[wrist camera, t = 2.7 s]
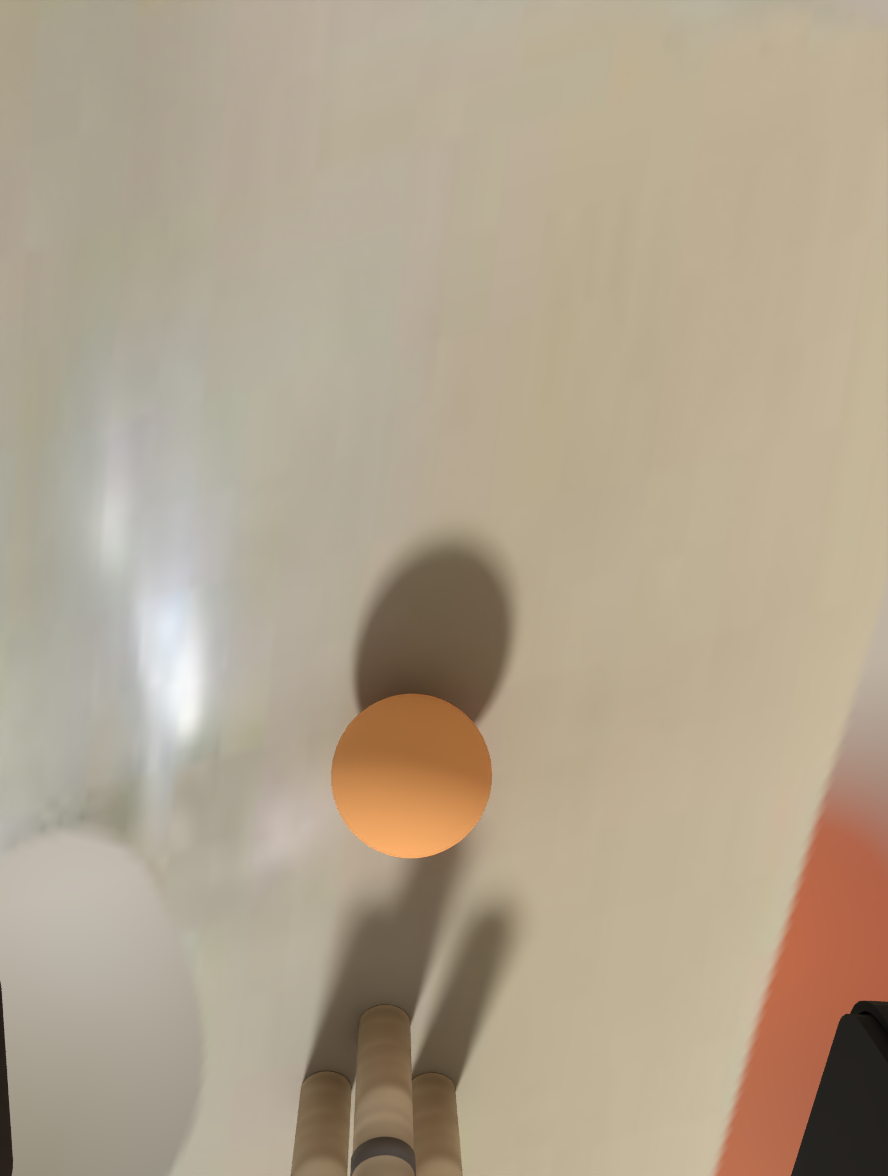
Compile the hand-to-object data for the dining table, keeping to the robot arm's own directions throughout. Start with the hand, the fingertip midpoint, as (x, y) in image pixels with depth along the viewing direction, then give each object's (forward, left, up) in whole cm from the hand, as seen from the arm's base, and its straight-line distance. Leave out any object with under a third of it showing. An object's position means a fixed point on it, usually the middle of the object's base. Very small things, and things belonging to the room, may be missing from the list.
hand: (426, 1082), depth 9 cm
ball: (+8, +1, -20) cm, 21 cm away
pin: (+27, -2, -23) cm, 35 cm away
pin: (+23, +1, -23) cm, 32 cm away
